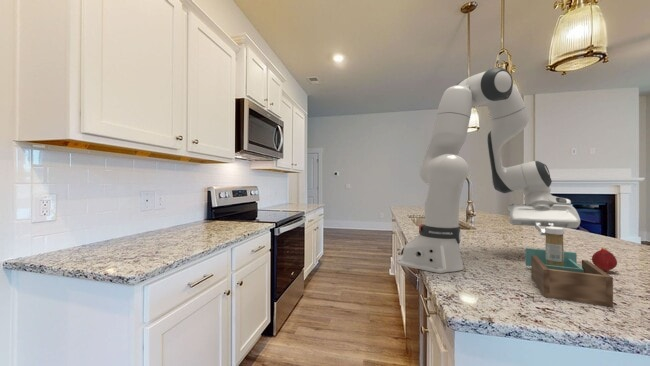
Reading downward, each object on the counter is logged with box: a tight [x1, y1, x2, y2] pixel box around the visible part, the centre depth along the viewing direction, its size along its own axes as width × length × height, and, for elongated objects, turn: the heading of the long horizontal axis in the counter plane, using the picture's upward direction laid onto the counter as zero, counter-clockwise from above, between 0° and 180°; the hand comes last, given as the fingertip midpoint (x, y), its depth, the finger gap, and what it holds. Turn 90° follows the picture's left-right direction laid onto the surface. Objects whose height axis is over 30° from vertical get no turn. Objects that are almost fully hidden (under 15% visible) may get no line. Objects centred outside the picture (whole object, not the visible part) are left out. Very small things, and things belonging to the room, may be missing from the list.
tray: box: [525, 247, 584, 273], centre depth 85 cm, size 13×14×6 cm
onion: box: [591, 246, 618, 273], centre depth 90 cm, size 6×6×8 cm
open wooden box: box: [531, 255, 614, 308], centre depth 75 cm, size 13×16×7 cm
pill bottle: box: [544, 227, 565, 267], centre depth 85 cm, size 5×5×14 cm
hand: (545, 234), depth 96 cm, fingers closed
